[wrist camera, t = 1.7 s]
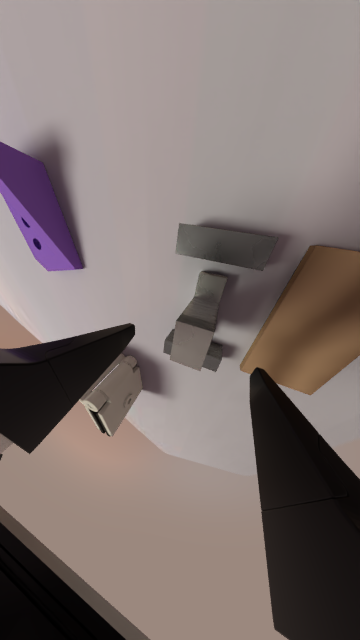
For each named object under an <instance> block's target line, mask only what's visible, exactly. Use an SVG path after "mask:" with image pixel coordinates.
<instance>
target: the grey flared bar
mask: <svg viewBox="0 0 360 640" xmlns="http://www.w3.org/2000/svg"><path fill="white" fill-rule="evenodd" d="M226 281H227V277H226V276H221V275H217V274H212V273H207V272H203V271H202V272H200V274H199V278H198V283H197V287H196V291H195V296H194V298H193V299H192V301H191V302H190V303H189V304H188V306H187V307H186V308H185V310H184V311H183V312H182V314H181V315H180V316H179V318H178V319H177V320H176V325H175V332H174V338H173V344H172V350H171V356H170V360H172V361H175V362H177V363H180V364H183V365H185V366H188V367H191V368H193V369H196V370H198V371H200V370H201V368H202V365H203V362H204V359H205V357H206V354H207V351H208V348H209V346H210V343H211V340H212V337H213V335H214V331H215V325H216V319H217V312H218V306H219V302H220V299H221V296H222V293H223V290H224V287H225V284H226Z"/></svg>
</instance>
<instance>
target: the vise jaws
mask: <svg viewBox="0 0 360 640" xmlns="http://www.w3.org/2000/svg"><path fill="white" fill-rule="evenodd" d="M277 239H278V238H277V237H270V236H264V235H257V234H250V233H243V232H236V231H229V230H223V229H216V228H209V227H202V226H195V225H188V224H181V223H179V229H178V237H177V245H176V254H180V255H185V256H191V257H196V258H201V259H206V260H211V261H216V262H221V263H226V264H231V265H236V266H241V267H246V268H251V269H256V270H261V271H263V269H264V267H265V265H266V263H267V261H268V259H269V256H270V254H271V252H272V250H273V248H274V246H275V244H276V241H277ZM174 332H175V330H172V331H171V332H170V334H169V335H168V337H167V338H166V339H165V343H164V351H163V352H164V353H166V354H169V355H171V350H172V344H173V338H174ZM221 360H222V345H219V344H215V343H212V342H211V343H210V346H209V348H208V351H207V354H206V357H205V359H204V362H203V365H202V367H204V368H207V369H209V370H212V371H215V372H216V371H217V369H218V367H219V364H220V362H221Z"/></svg>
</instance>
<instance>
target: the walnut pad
mask: <svg viewBox="0 0 360 640" xmlns="http://www.w3.org/2000/svg"><path fill="white" fill-rule="evenodd" d="M359 355H360V252H357V251H351V250H344V249H337V248H330V247H324V246H317V245H316V246H310V247H309V249H308V250H307V252H306V254H305V255H304V257H303V259H302V261H301V262H300V264H299V266H298V267H297V269H296V271H295V272H294V274H293V276H292V278H291V279H290V281H289V283H288V284H287V286H286V288H285V289H284V291H283V293H282V295H281V296H280V298H279V300H278V301H277V303H276V305H275V307H274V308H273V310H272V312H271V313H270V315H269V317H268V318H267V320H266V322H265V324H264V325H263V327H262V329H261V330H260V332H259V334H258V335H257V337H256V339H255V341H254V342H253V344H252V346H251V347H250V349H249V351H248V352H247V354H246V356H245V358H244V359H243V361H242V363H241V364H240V370H241V371H243V372H246V373H249V374H252V372H253V371H254V369H255V368H256V367H259V368H262V369H264V370H265V371H266V372H267V373H268V374H269V376H270V377H271V378H272V379H273V380H274V381H275V383H277V384H280V385H283V386H286V387H289V388H291V389H294V390H297V391H300V392H303V393H305V394H308V395H311V394H313V393H314V392H315V391H316V390H318V389H319V388H320V387H321V386H322V385H324V384H325V383H326V382H327V381H329V380H330V379H331V378H332V377H333V376H335V375H336V374H337V373H338V372H340V371H341V370H342V369H343V368H345V367H346V366H347V365H348V364H349V363H351V362H352V361H353V360H354V359H356V358H357V357H358V356H359Z"/></svg>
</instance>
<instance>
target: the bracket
mask: <svg viewBox="0 0 360 640" xmlns="http://www.w3.org/2000/svg"><path fill="white" fill-rule="evenodd" d="M0 193H1V194H2V196H3V197H4V199H5V201H6V203H7V205H8V207H9V209H10V211H11V213H12V215H13V217H14V219H15V221H16V223H17V224H18V226H19V228H20V230H21V232H22V234H23V236H24V238H25V240H26V242H27V244H28V246H29V248H30V250H31V251H32V253H33V255H34V257H35V259H36V260H37V261H38V262H39V263H40V264H41V265H42V266H43V267H44V268H45V269H46V270H47V271H59V270H75V269H83V267H82V264H81V262H80V259H79V256H78V254H77V251H76V248H75V246H74V243H73V240H72V238H71V235H70V233H69V230H68V227H67V225H66V222H65V219H64V217H63V214H62V212H61V209H60V206H59V204H58V201H57V198H56V196H55V193H54V191H53V188H52V185H51V183H50V180H49V177H48V175H47V172H46V170H45V167H44V164H43V163H42V162H40V161H38V160H36V159H34V158H32V157H30V156H28V155H26V154H24V153H22V152H20V151H18V150H16V149H14V148H12V147H10V146H8V145H6V144H4V143H2V142H0Z"/></svg>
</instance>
